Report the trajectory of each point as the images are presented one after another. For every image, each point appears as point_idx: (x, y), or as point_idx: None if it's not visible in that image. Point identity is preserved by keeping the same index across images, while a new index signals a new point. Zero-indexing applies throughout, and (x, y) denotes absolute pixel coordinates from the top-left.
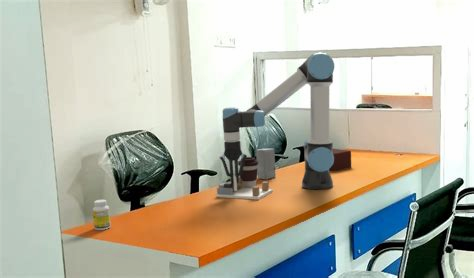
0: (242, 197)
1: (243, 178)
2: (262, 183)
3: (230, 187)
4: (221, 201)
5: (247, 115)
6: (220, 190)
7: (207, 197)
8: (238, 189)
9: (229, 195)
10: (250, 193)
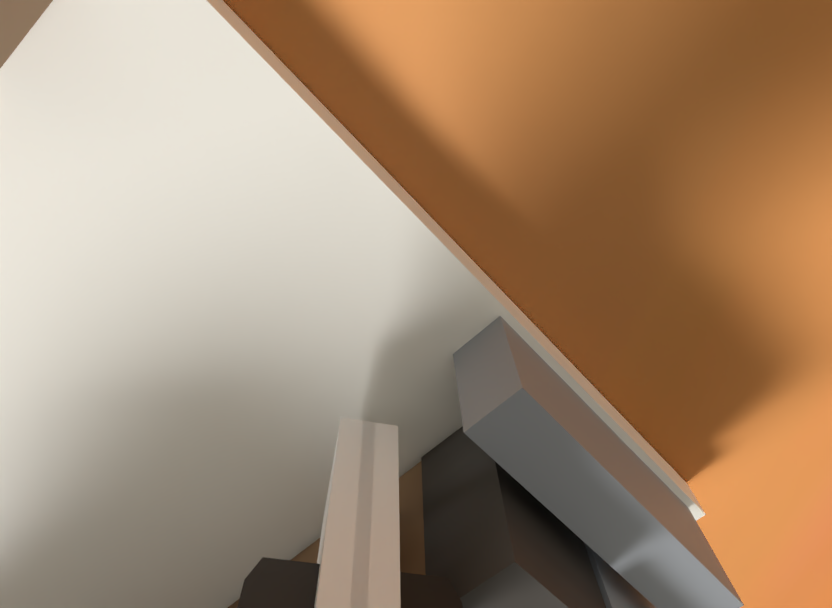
0: (321, 110)
1: None
2: None
3: (481, 508)
4: (808, 108)
5: None
6: (678, 520)
7: (821, 511)
8: (235, 603)
9: (534, 334)
10: (79, 245)
